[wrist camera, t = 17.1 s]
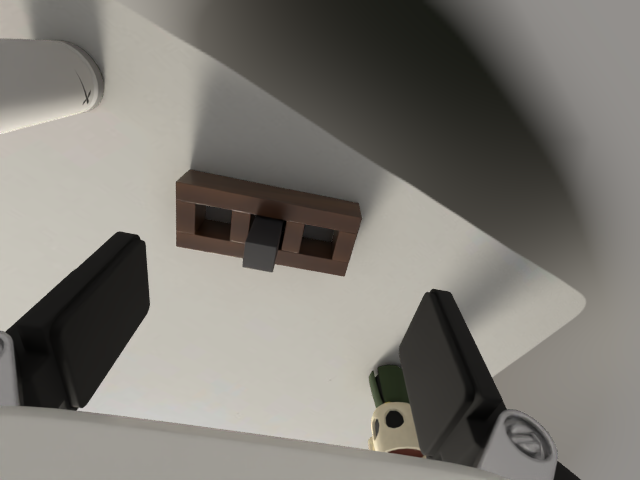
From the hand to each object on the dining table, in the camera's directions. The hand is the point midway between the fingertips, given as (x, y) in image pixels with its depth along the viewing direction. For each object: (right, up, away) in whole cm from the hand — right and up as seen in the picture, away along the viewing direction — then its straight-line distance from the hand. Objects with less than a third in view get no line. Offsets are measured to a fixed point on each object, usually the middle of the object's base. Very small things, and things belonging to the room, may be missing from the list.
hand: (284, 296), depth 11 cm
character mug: (+12, -20, +43) cm, 48 cm away
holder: (-5, +5, +29) cm, 29 cm away
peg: (-5, +5, +29) cm, 29 cm away
